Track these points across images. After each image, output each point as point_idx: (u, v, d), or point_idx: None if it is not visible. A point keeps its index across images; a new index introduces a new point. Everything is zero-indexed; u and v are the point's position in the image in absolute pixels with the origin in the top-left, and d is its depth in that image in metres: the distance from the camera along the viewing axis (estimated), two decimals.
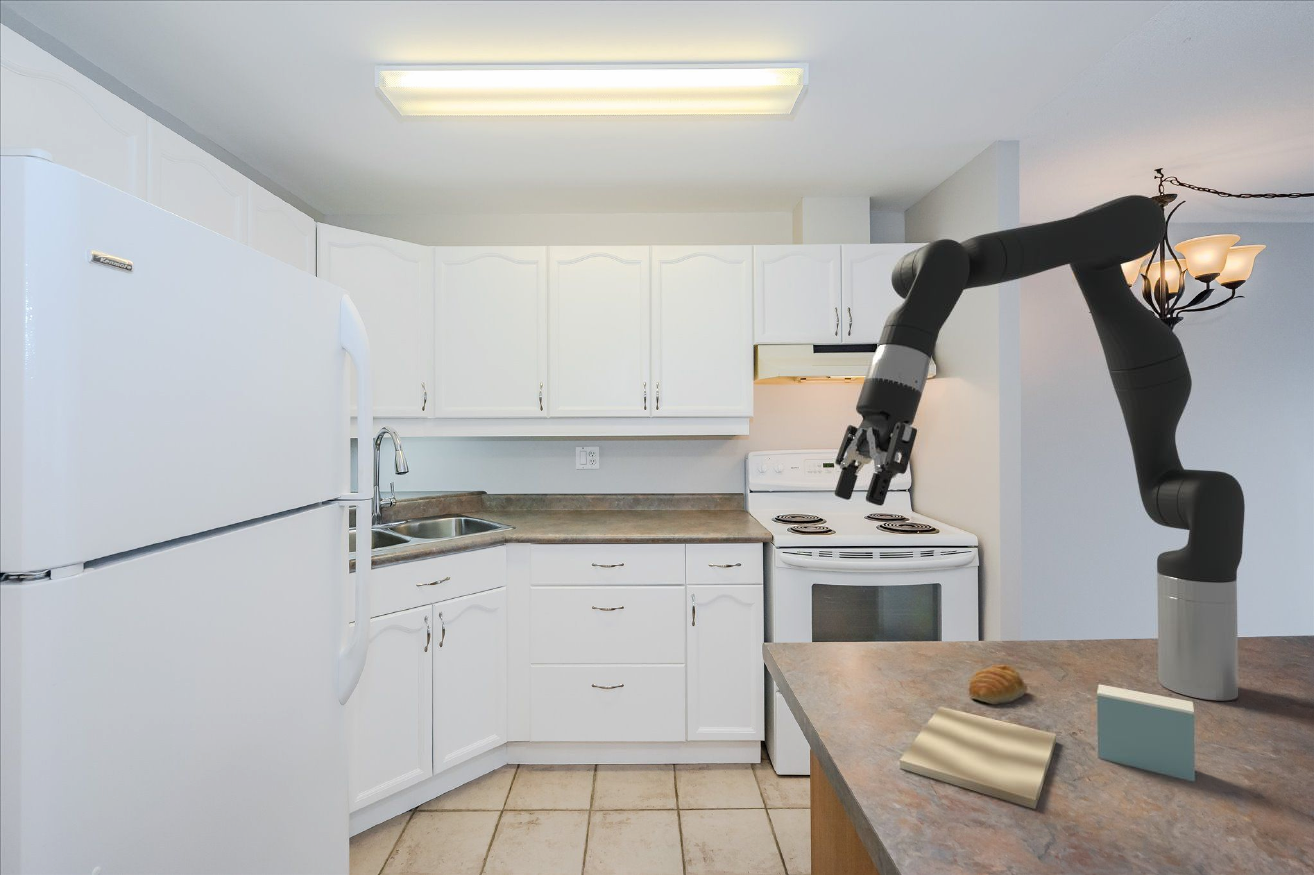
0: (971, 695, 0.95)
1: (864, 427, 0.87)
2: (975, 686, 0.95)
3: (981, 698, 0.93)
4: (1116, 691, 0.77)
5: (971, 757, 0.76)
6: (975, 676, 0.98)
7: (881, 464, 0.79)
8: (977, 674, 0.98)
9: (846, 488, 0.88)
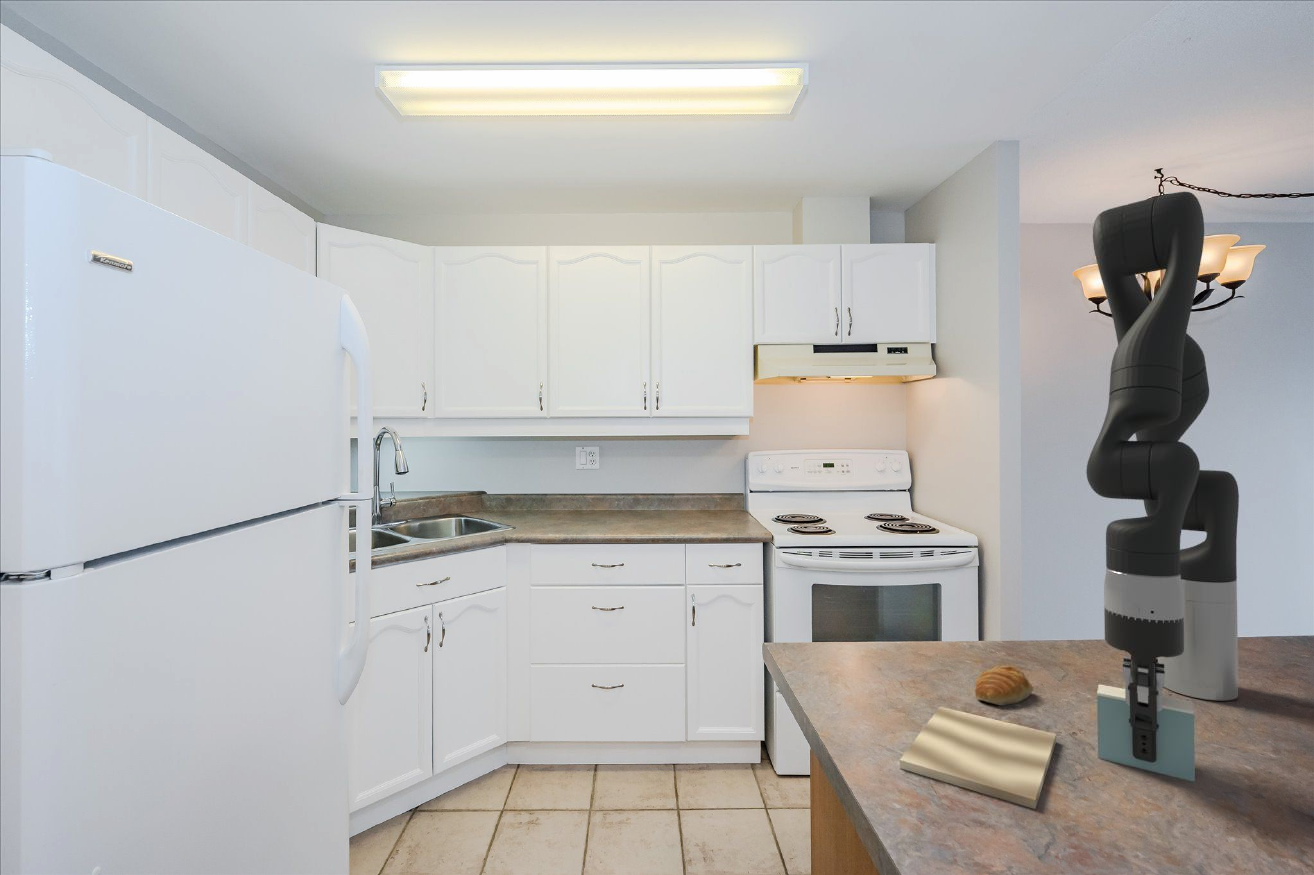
0: (978, 696, 0.94)
1: None
2: (982, 687, 0.94)
3: (988, 699, 0.92)
4: (1116, 691, 0.77)
5: (971, 757, 0.76)
6: (981, 677, 0.97)
7: None
8: (983, 675, 0.97)
9: None
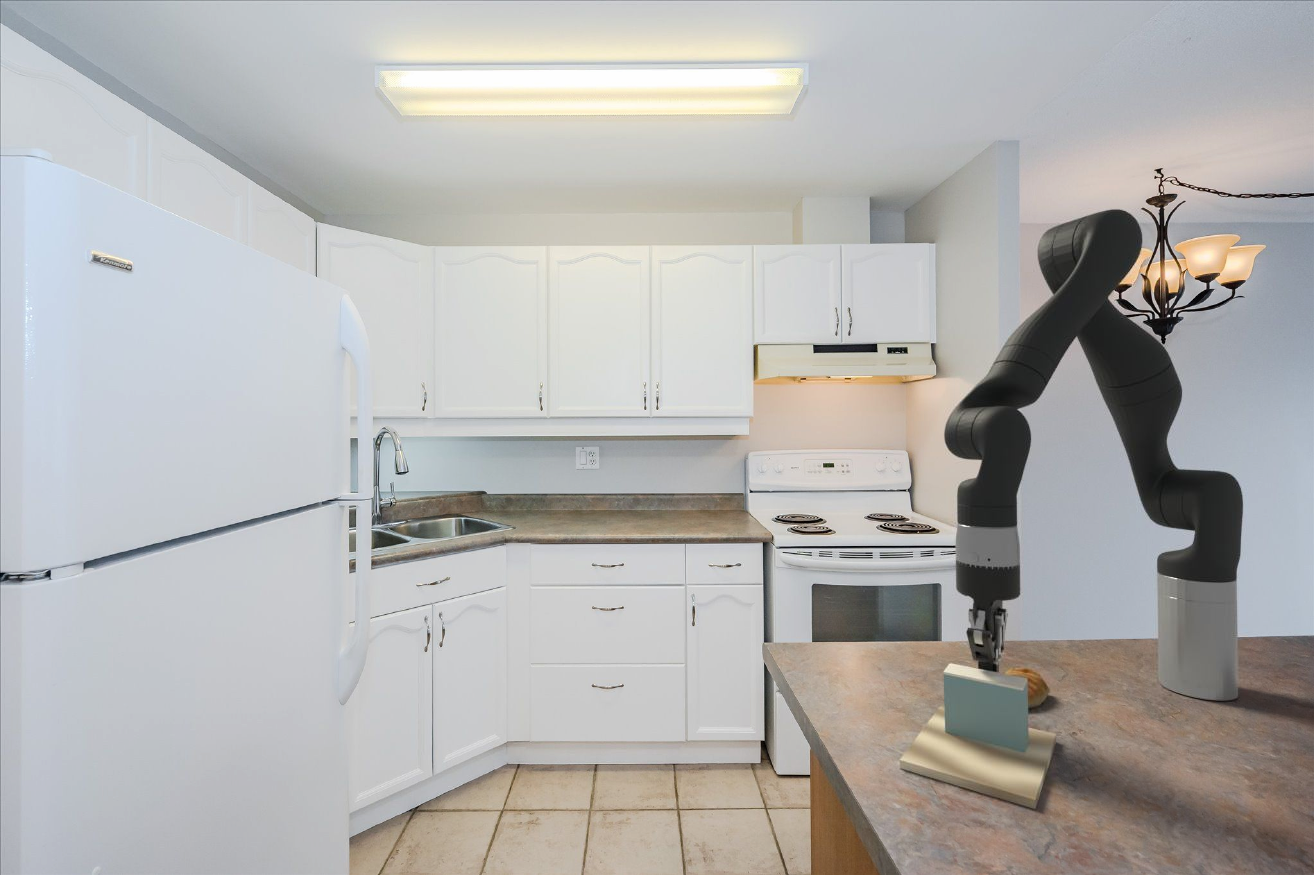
0: None
1: None
2: None
3: None
4: (962, 670, 0.82)
5: (971, 757, 0.76)
6: None
7: None
8: None
9: None
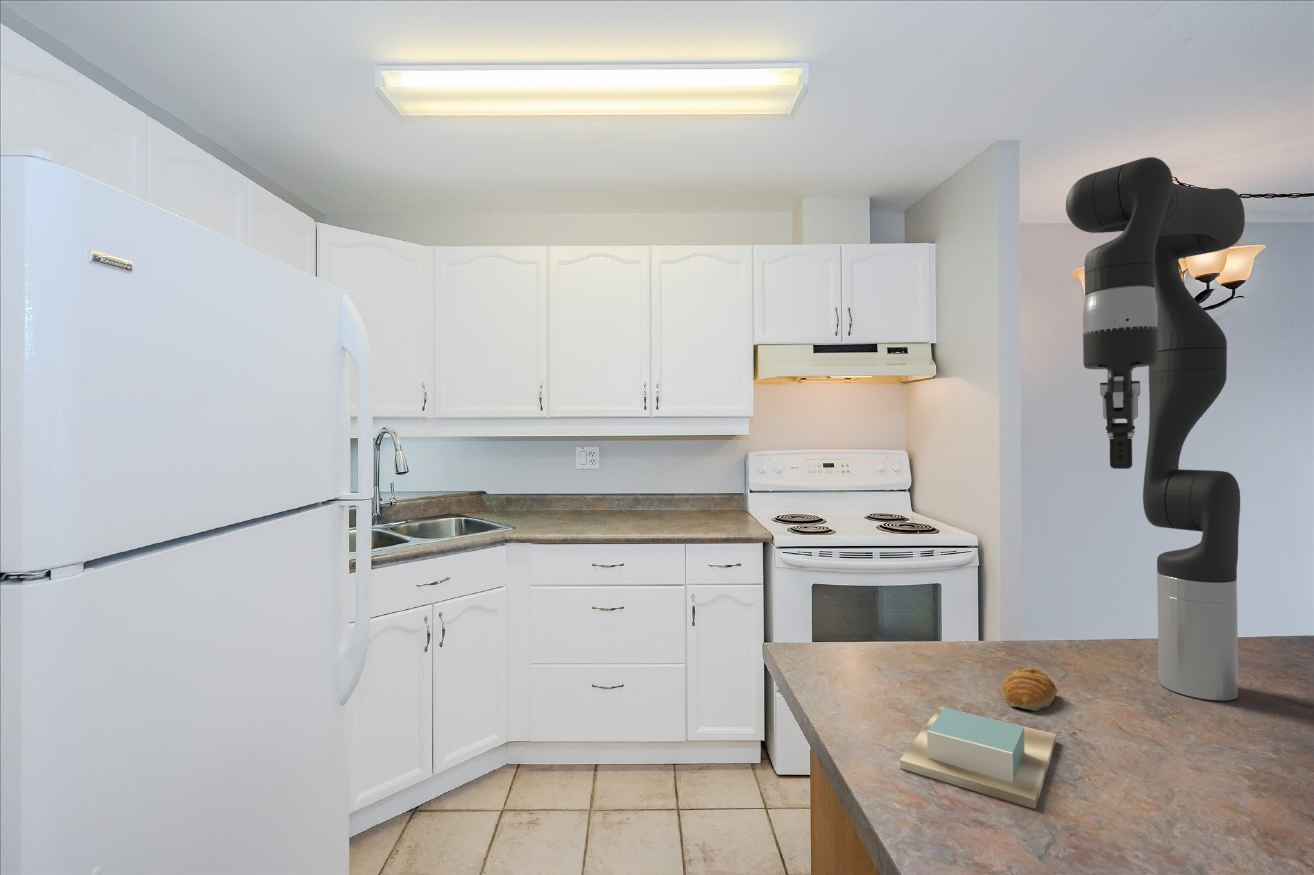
0: (1012, 703, 0.92)
1: None
2: (1015, 693, 0.92)
3: (1024, 705, 0.90)
4: (944, 749, 0.75)
5: None
6: (1008, 682, 0.95)
7: None
8: (1009, 680, 0.95)
9: None
